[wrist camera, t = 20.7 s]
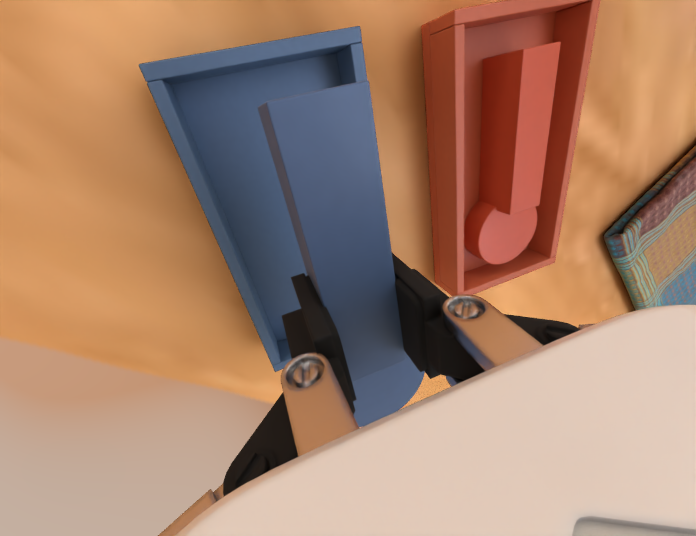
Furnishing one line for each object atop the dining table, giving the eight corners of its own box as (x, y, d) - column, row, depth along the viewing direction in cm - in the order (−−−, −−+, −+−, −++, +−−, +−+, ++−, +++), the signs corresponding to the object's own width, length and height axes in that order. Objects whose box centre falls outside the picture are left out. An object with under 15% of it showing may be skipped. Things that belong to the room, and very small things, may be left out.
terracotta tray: (421, 25, 17) (454, 9, 14) (553, 1, 19) (603, -17, 16) (434, 282, 25) (457, 300, 23) (524, 249, 27) (555, 262, 24)
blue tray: (155, 73, 14) (137, 64, 12) (340, 40, 16) (360, 25, 13) (270, 343, 23) (275, 372, 20) (382, 301, 24) (400, 323, 22)
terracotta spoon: (462, 63, 18) (500, 53, 15) (534, 47, 19) (582, 36, 16) (462, 264, 24) (488, 281, 22) (515, 244, 25) (546, 258, 23)
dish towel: (641, 334, 42) (663, 346, 39) (595, 238, 30) (623, 248, 27) (742, 239, 39) (772, 246, 37) (738, 94, 27) (781, 92, 25)
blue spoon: (208, 117, 9) (197, 115, 6) (374, 81, 10) (424, 68, 7) (319, 412, 15) (335, 471, 13) (411, 373, 16) (443, 420, 14)
